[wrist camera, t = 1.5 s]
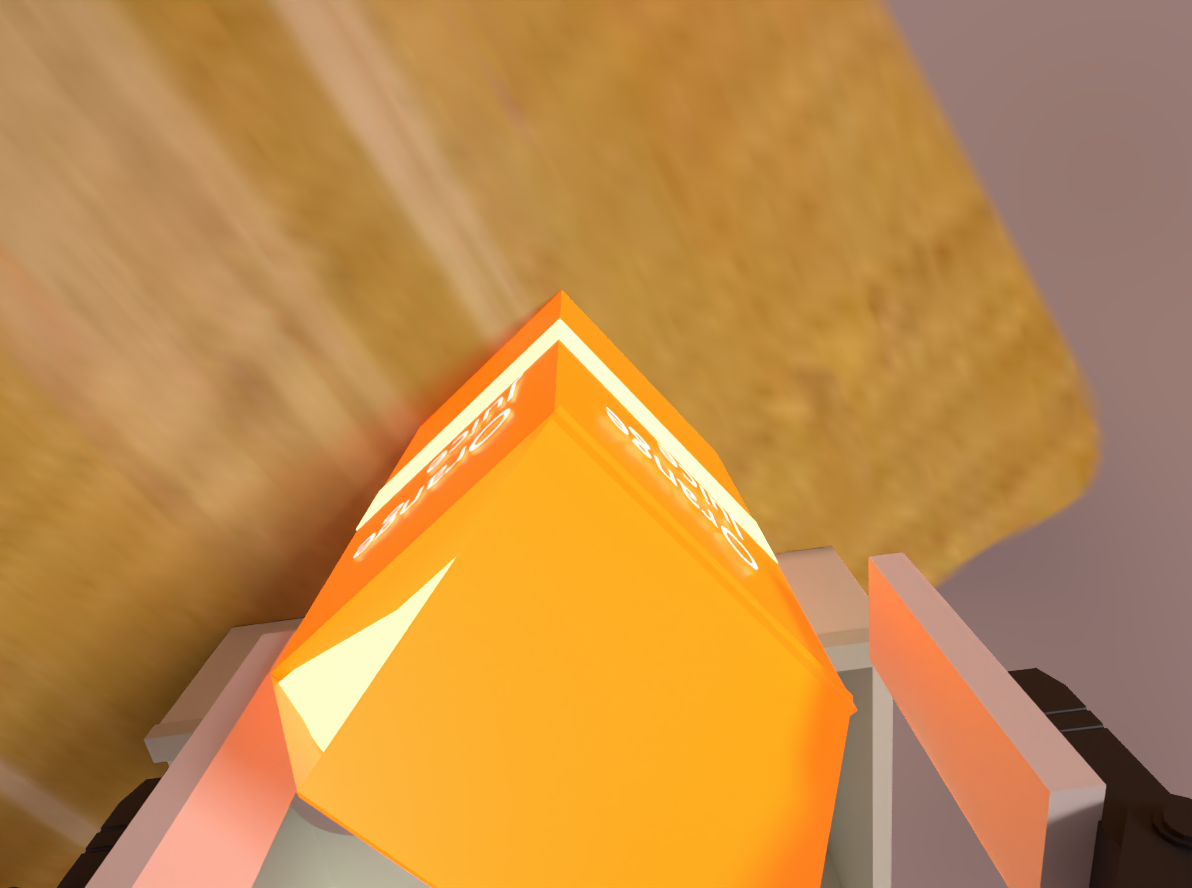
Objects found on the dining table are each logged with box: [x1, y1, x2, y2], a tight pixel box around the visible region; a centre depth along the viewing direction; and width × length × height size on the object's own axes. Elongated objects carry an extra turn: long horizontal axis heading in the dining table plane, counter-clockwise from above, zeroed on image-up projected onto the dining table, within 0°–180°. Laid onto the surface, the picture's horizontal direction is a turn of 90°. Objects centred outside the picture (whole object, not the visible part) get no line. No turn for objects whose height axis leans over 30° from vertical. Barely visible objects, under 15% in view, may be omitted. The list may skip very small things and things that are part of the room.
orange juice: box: [271, 290, 857, 888], centre depth 18 cm, size 8×9×20 cm
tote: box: [143, 546, 893, 888], centre depth 30 cm, size 25×17×6 cm
